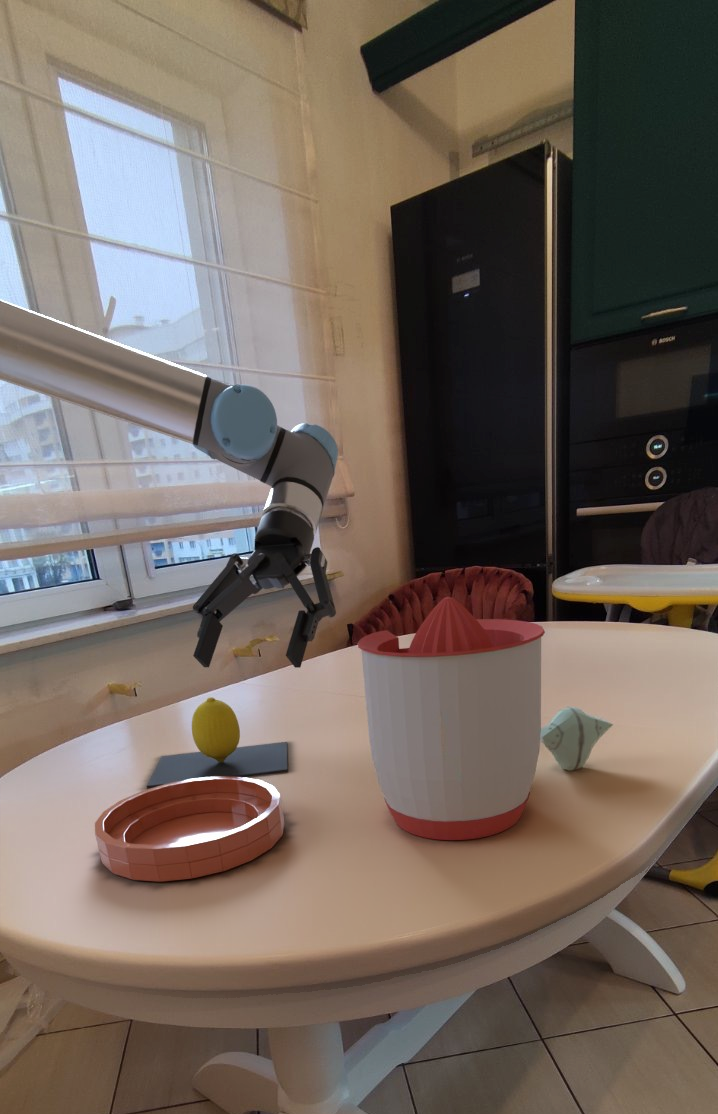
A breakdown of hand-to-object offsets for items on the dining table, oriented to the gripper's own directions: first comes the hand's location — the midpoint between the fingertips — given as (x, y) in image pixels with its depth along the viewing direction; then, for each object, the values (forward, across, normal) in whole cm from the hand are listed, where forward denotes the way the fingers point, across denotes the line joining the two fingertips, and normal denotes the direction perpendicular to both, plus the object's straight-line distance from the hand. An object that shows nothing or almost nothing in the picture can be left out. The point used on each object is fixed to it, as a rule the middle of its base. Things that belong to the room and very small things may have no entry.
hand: (245, 662), depth 91 cm
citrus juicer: (+20, -32, +4) cm, 38 cm away
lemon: (+14, 0, -1) cm, 14 cm away
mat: (+14, 0, -2) cm, 14 cm away
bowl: (+28, -10, +12) cm, 32 cm away
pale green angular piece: (+10, -40, -5) cm, 42 cm away
